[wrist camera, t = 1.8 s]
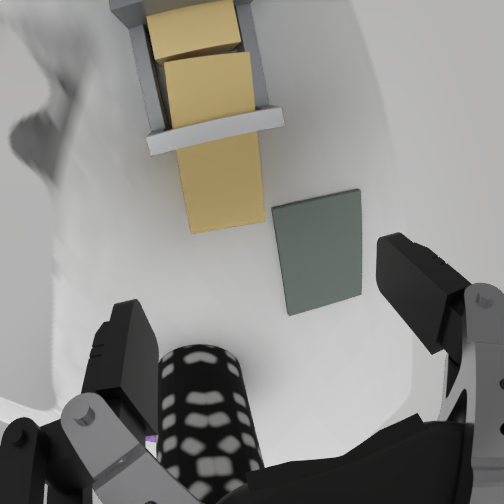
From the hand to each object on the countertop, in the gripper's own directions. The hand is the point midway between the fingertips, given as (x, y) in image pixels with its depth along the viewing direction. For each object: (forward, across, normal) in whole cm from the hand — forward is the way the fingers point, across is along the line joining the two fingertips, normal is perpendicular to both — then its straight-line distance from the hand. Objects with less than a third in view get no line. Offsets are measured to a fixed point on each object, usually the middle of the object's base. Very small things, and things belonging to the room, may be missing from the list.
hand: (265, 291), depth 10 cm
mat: (+13, -6, +8) cm, 17 cm away
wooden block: (+13, 0, -3) cm, 14 cm away
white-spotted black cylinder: (+14, +6, +18) cm, 23 cm away
